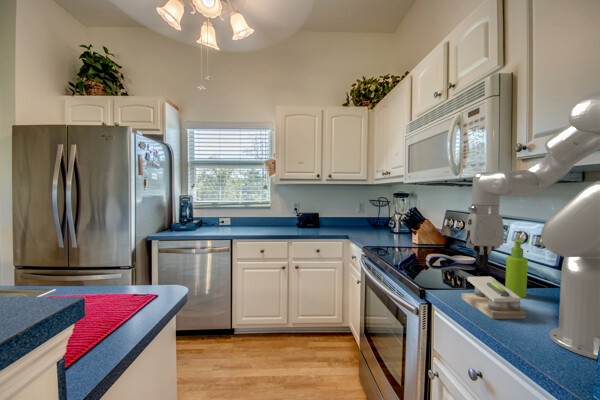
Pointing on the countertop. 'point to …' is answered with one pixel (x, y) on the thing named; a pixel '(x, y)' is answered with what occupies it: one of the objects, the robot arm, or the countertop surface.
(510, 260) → the soap dispenser
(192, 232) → the countertop surface
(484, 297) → the level base
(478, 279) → the white rectangular slab
